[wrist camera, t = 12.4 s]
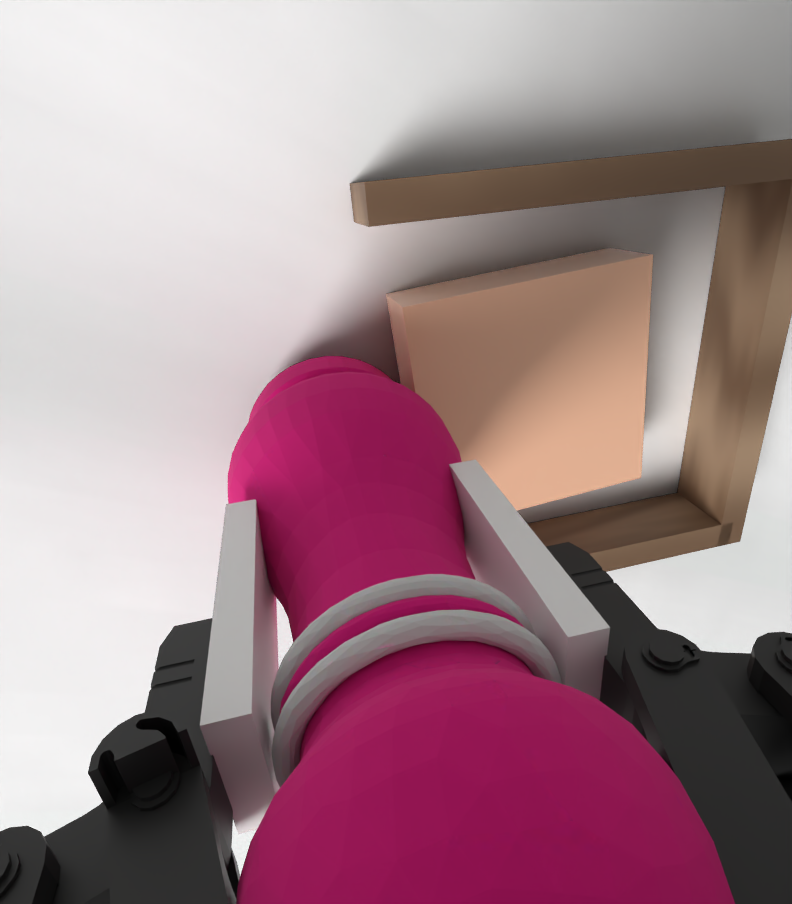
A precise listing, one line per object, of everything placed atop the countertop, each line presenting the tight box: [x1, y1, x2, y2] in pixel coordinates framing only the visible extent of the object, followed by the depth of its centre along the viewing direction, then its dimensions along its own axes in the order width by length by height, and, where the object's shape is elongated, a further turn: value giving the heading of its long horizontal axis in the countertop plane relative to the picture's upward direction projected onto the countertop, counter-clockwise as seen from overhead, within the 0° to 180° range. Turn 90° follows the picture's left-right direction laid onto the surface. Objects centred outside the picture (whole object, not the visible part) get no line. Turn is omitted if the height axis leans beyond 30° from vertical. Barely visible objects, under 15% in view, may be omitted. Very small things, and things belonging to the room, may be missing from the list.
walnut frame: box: [350, 139, 792, 572], centre depth 22 cm, size 16×16×3 cm
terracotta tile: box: [386, 248, 653, 510], centre depth 22 cm, size 9×9×3 cm
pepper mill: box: [228, 356, 735, 904], centre depth 12 cm, size 7×7×20 cm
